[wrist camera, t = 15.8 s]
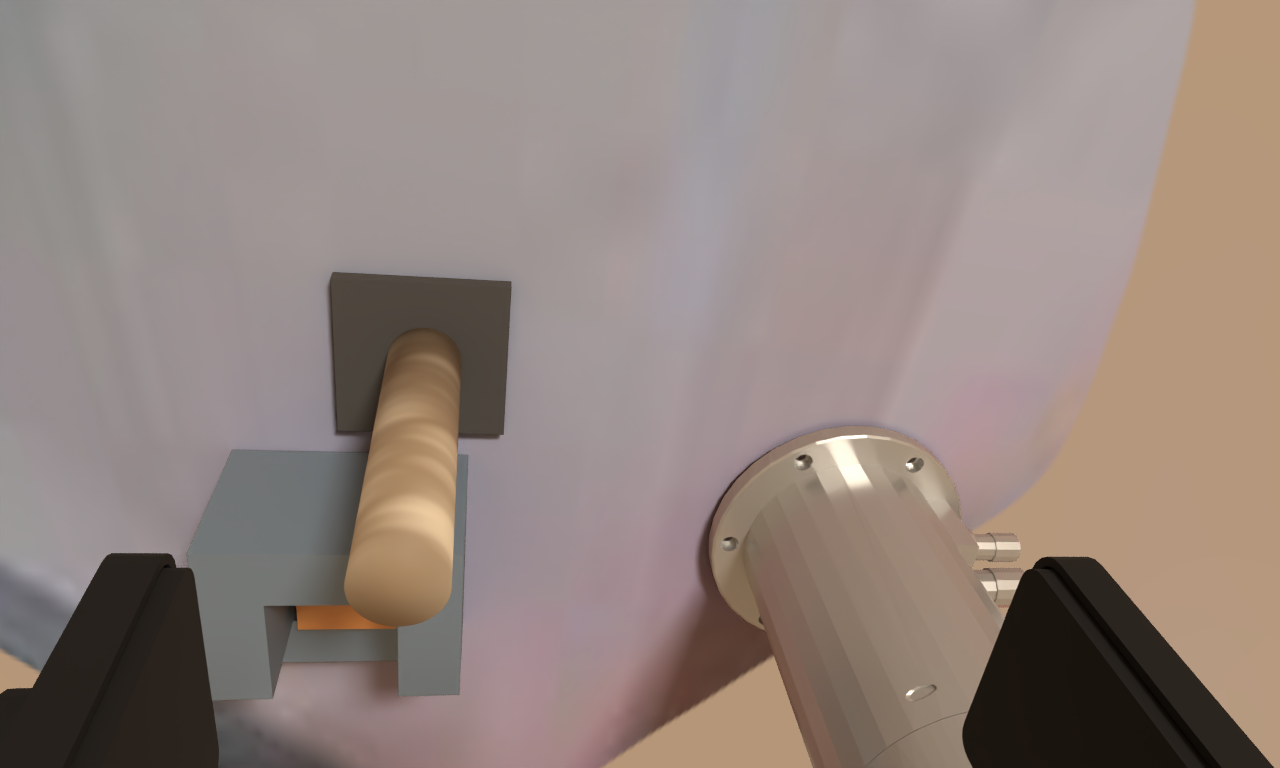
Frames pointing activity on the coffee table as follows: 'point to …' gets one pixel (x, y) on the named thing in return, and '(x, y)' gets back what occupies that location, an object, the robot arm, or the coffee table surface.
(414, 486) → the stylus
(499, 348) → the mat
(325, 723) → the coffee table surface
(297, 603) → the switch box
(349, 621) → the button
